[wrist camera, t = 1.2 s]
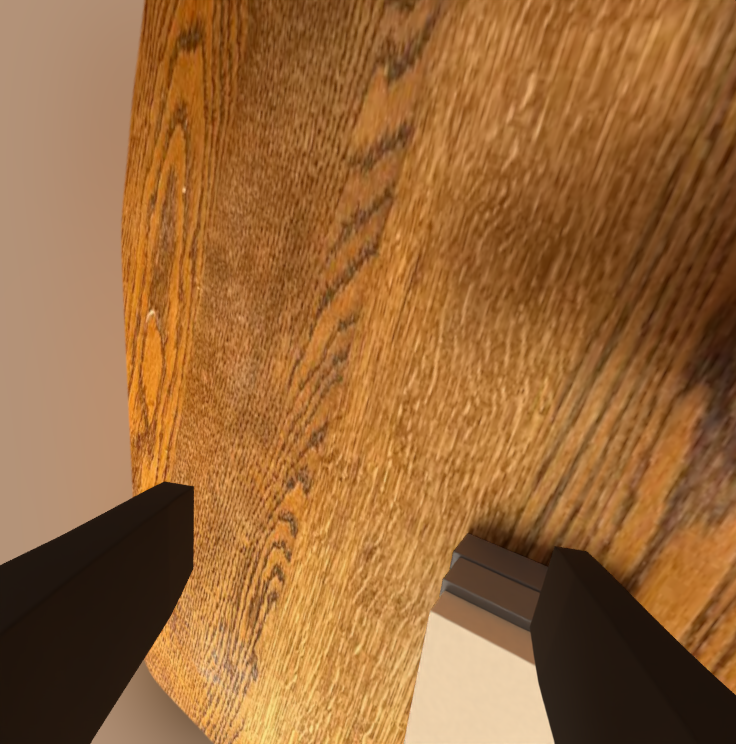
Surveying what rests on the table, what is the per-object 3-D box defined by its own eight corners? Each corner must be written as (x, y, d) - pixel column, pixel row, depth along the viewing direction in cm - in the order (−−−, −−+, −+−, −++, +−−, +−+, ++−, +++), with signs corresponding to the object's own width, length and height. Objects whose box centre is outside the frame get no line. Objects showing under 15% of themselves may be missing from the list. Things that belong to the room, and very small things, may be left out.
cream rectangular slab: (545, 845, 17) (537, 885, 16) (411, 751, 20) (395, 780, 19) (601, 666, 15) (597, 698, 14) (444, 589, 18) (429, 610, 17)
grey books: (570, 777, 20) (555, 863, 17) (433, 693, 23) (400, 754, 20) (626, 599, 18) (621, 661, 15) (467, 532, 21) (435, 572, 18)
